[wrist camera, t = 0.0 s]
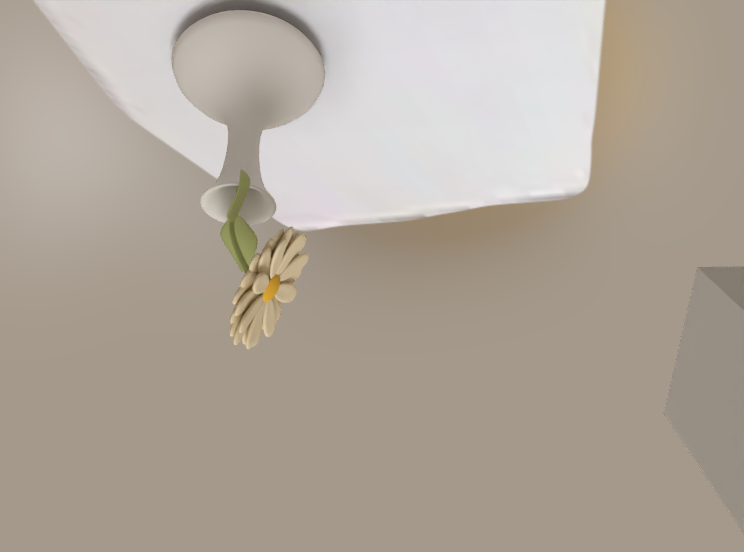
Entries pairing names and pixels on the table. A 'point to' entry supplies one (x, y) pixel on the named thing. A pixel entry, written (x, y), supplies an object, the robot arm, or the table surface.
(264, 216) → the flower in vase
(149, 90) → the table surface
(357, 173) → the table surface
